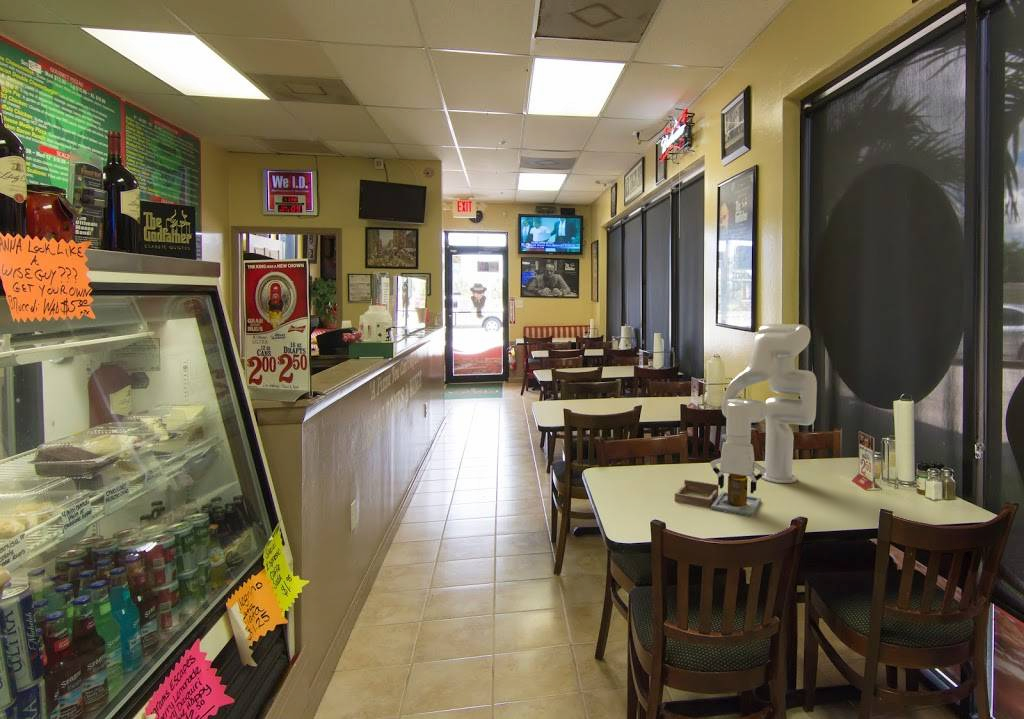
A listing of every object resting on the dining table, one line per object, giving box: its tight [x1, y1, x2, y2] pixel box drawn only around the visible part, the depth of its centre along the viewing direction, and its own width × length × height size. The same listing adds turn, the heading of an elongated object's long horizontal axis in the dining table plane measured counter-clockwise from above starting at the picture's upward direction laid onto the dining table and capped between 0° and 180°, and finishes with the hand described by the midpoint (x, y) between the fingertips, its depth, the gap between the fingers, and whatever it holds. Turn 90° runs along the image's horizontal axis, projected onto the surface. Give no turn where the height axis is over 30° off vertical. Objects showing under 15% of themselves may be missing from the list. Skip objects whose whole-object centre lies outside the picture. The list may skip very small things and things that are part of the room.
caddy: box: [674, 479, 720, 508], centre depth 189 cm, size 13×12×4 cm
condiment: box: [718, 474, 752, 509], centre depth 182 cm, size 7×8×12 cm
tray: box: [710, 491, 762, 517], centre depth 182 cm, size 16×13×1 cm
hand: (736, 489), depth 182 cm, fingers open, 9 cm apart
